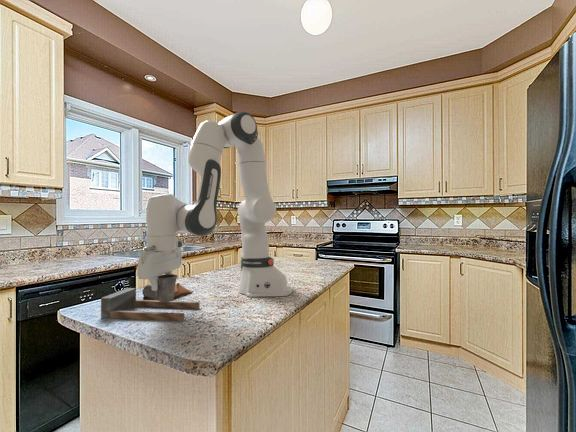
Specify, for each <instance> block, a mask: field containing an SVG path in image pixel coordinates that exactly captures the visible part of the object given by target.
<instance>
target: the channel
mask: <svg viewBox="0 0 576 432" xmlns="http://www.w3.org/2000/svg"><path fill="white" fill-rule="evenodd" d="M134 307H135V308H136V307H138V308H162V309H184V310H185V309H189V310H190V309H191V310H199V309H200V301H185V300H184V301H183V300H182V301H178V300H172V301H169V302H161V301H158V300H143V299H137V288H136V287H128V288H124V289H121V290H120V291H116V292H114V293H111V294H108V295H106V296H103V297H101V298H100V318H101V319H103V318H104V319H119V318H121V320H123V319H125V320H145V321H146V320H148V321H168V322H170V321H171V322H183V321H184V320H185V313H184V312H169V311H167V312H165V311H163V312H161V311H141V310H140V311H139V310H138V311H136V310H130V309H132V308H134Z"/></svg>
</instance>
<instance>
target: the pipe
mask: <svg viewBox="0 0 576 432" xmlns="http://www.w3.org/2000/svg"><path fill="white" fill-rule="evenodd" d="M178 277H179V276H178V275H177V274H173V273H172V274H166V275H165V274H162V275H159V276H158V279H157V282H158V284H159V289H158V290H156V291H152V289H151V284H146V285H145V286H144V287H143V289H142V295H143V297H144V296H146V297H150V298H154V299H158V300H159V301H161V302H169V301H174V300H175V299H174V290H175V284H177V283H176V282H177V279H178ZM173 299H174V300H173Z"/></svg>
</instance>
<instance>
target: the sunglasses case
mask: <svg viewBox="0 0 576 432" xmlns="http://www.w3.org/2000/svg"><path fill="white" fill-rule="evenodd" d="M191 294H193V291H191V290H189V289H188V288H186V287H184V286H183V285H181V284H180V282H178V283H176V284H175V290H174V299H173V300H172V301H175V300H176V299H178V298H181V297H184V296H187V295H191ZM142 300H158V299H154V298H150V297H146V296H144V295H143V297H142ZM158 301H159V300H158Z"/></svg>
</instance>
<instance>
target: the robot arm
mask: <svg viewBox="0 0 576 432" xmlns="http://www.w3.org/2000/svg"><path fill="white" fill-rule="evenodd" d="M258 136H259V132H258V124H257V122H256V120H255V117H254V116H253V115H252V114H250V113H249V112H246V111H239V112H238V111H237V112H236V113H234V114H231V115H228V116H226V117H225V118H223V119H222V120H220V121H219V122H217V121H213V120H205V121H203V122H201V123H200V124H199V126H198V128H197V130H196V132H195V134H194V136H193V139H192V141H191V145H190V147H189V148H190V149H189V151H188V156H187V157H188V158H187V159H188V161H187V162H188V165H189V166H190V169H192V170H193V171H194V172H195V173H197V174H199V176H200V184H199V189H198V195H197V199H196V202H195V203H194V204H188V203H186V202H183V201H181V200H180V199H178V197H176V196H175V195H174V194H172V193H165V194H158V195H157V194H156V195H153V196H150V198H149V199H148V201H147V206H146V215H145V216H146V217H145V218H146V219H145V222H146V226H147V229H146V235H145V237H146V239H145V242H146V243H145V247H144V248H143V249H142V251H141V252H140V254H139V257H138V261H137V268H136V269H137V271H136V272H137V273H136V276H137V278H138V279H139V280H148V281H149V283H150V285H151V289H152V291H156V290H158V289H159V284H158V282H157V279H158V276H160V275H166V274H173V271H175V270H178V269H181V266H182V262H183V261H182V260H183V259H182V258H183V252H182V251H183V250H182V248H183V246H184V242H183V241H182V240H180V239H178V238H177V233H178V232H179V233H181V234H182V233H184V234H189V235H190V234H192V235H196V236H200V237H203V236H208V235H209V234H211V233H212V232H213V231H214V230H215V228H216V226H217V223H218V213H217V210H218V209H217V205H218V198H219V197H218V196H219V191H220V185H221V184H220V183H221V177H222V176H221V175H222V169H221V159H222V154H223V151H224V149H229V148H232V147H235V149H236V151H237V153H238V171H239V183H240V187H242V191H243V195H244V199H243V200H242V201H241V202H240V203H239V205H238V207H237V214H238V217H239V218H238V219H239V227H240V232H241V251H242V252H241V257H240V258H241V259H240V271H241V273H240V282H239V286H238V289H237V292H238V293H240V294H242V295H245V296H247V297H251V298H253V297H254V298H256V297H257V298H258V297H287V296H290V295H291V294H292V293H293V286H292V285H288V280H287V277H286V275H285V274H284V273H283V272H282V271H281V270H279V269H278V268H277V267H276V266H274V264H275V261H274V260H275V259H274V257H271V256H270V252H269V251H270V250H269V249H270V238H269V235H268V234H267V233H268V232H267V229H266V225H265V224H266V223H269V222H270V221H272V220H273V219H274V218H275V216H276V214H277V207H276V204H275V201H273V199H272V196H271V191H270V189H269V183H268V178H267V177H268V175H267V165H266V164H267V163H266V156H265V150H264V146H263V142H262V140H261V139H260V138H259V137H258Z"/></svg>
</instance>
